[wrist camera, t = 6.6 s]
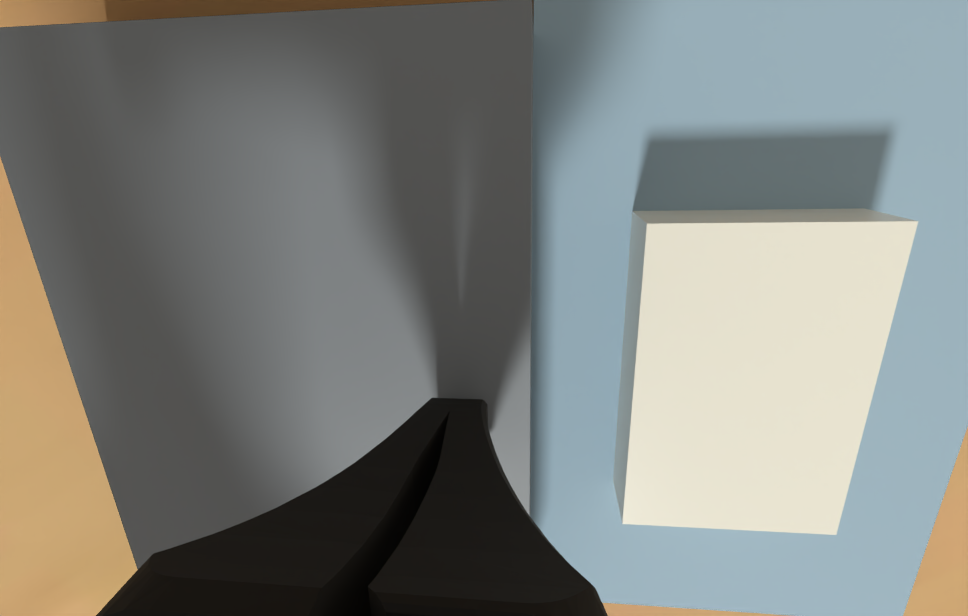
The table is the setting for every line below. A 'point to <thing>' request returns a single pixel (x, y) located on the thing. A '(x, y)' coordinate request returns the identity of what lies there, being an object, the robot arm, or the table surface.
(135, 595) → the robot arm
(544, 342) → the mat
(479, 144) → the plate
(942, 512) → the table surface
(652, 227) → the cream rectangular block
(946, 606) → the table surface
